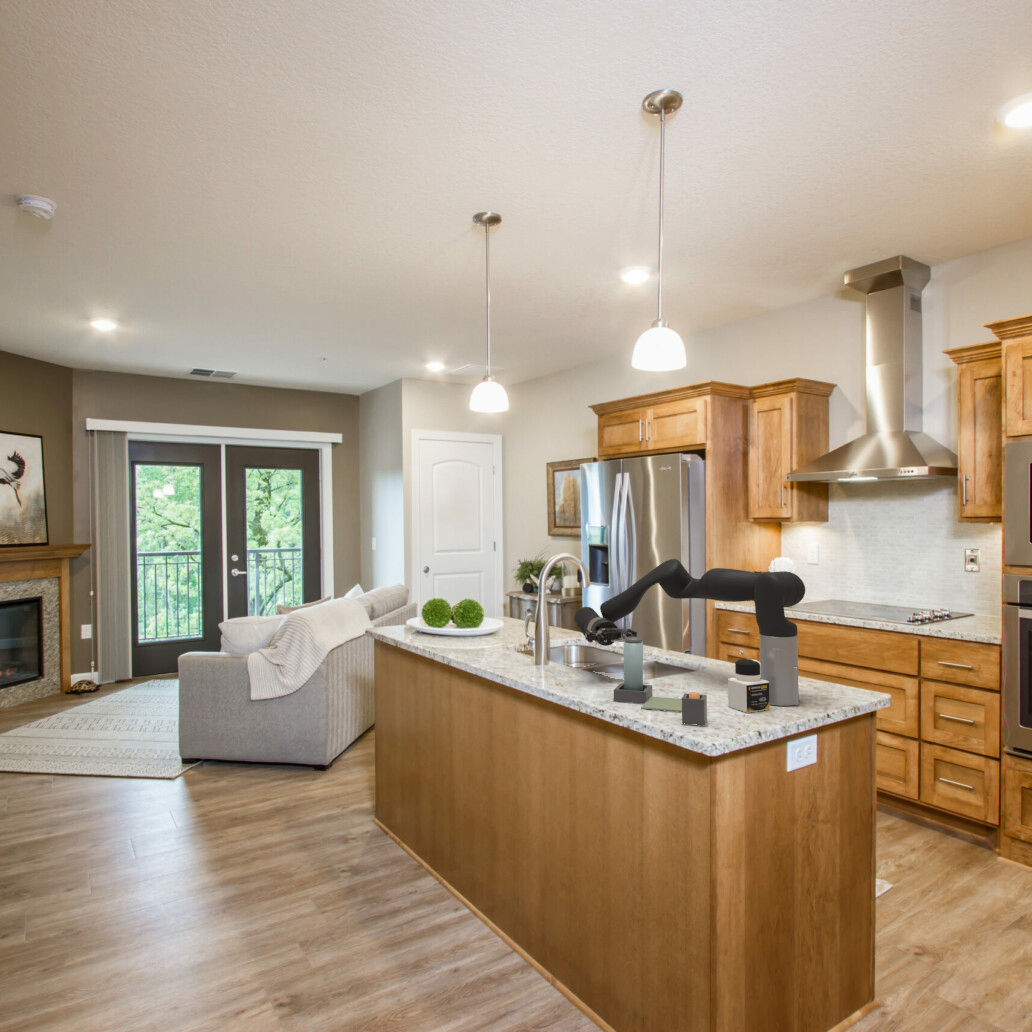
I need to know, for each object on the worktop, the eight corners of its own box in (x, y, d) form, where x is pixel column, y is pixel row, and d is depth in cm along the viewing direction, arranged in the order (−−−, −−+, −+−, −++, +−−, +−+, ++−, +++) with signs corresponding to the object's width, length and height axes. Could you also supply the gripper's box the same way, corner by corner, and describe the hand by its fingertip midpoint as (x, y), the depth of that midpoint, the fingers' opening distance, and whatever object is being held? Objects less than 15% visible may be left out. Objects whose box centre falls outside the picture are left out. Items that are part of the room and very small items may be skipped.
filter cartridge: (644, 697, 194) (644, 637, 194) (641, 702, 189) (641, 640, 189) (625, 695, 195) (625, 635, 195) (622, 700, 191) (622, 639, 190)
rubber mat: (696, 701, 188) (696, 699, 188) (690, 713, 177) (690, 711, 177) (649, 698, 193) (649, 696, 193) (641, 709, 181) (641, 707, 181)
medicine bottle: (747, 713, 176) (746, 663, 176) (727, 706, 183) (726, 658, 183) (770, 710, 179) (769, 661, 179) (750, 703, 186) (749, 656, 186)
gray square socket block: (707, 720, 170) (706, 694, 171) (704, 726, 166) (704, 699, 166) (685, 718, 172) (684, 693, 172) (682, 724, 168) (681, 698, 168)
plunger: (700, 716, 170) (700, 692, 170) (699, 719, 167) (698, 694, 168) (690, 715, 171) (689, 691, 171) (688, 718, 168) (688, 694, 168)
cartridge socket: (652, 696, 195) (652, 685, 195) (646, 704, 187) (646, 692, 187) (621, 694, 198) (620, 683, 198) (613, 701, 190) (613, 689, 190)
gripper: (625, 642, 221) (642, 652, 205) (579, 644, 219) (593, 654, 203) (625, 617, 221) (642, 625, 205) (579, 619, 219) (592, 627, 203)
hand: (617, 639), depth 204 cm, fingers open, 8 cm apart
